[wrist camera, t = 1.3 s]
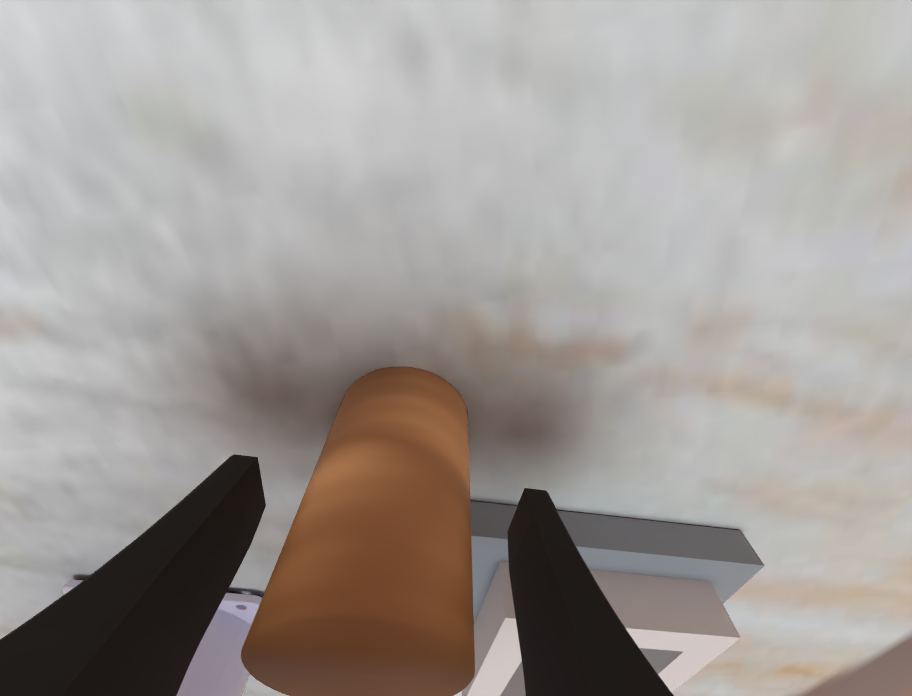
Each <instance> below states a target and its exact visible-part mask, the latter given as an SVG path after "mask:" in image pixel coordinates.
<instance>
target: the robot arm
mask: <svg viewBox="0 0 912 696" xmlns="http://www.w3.org/2000/svg"><path fill="white" fill-rule="evenodd" d="M265 506H266V504H265V498H264V492H263V487H262V481H261V475H260V469H259V463H258V457H251V456H242V455H232V456H231V457H229V458H228V459H227V460H226V461H225V462H224V463H223V464H222V465H221V466H219V467H218V468H217V469H216V470H215V471H214V472H213V473H212V474H211V475H210V476H209V477H207V478H206V479H205V480H204V481H203V482H202V483H201V484H200V485H199V486H197V487H196V488H195V489H194V490H193V491H192V492H191V493H190V494H188V495H187V496H186V497H185V498H184V499H183V500H182V501H181V502H179V503H178V504H177V505H176V506H175V507H174V508H172V509H171V510H170V511H169V512H168V513H167V514H165V515H164V516H163V517H162V518H161V519H160V520H158V521H157V522H156V523H155V524H154V525H153V526H151V527H150V528H149V529H148V530H147V531H145V532H144V533H143V534H142V535H141V536H139V537H138V538H137V539H136V540H134V541H133V542H132V543H131V544H129V545H128V546H127V547H126V548H124V549H123V550H122V551H121V552H119V553H118V554H117V555H116V556H114V557H113V558H112V559H111V560H109V561H108V562H107V563H106V564H104V565H103V566H102V567H101V568H99V569H98V570H97V571H95V572H94V573H93V574H91V575H90V576H89V577H87V578H86V579H85V580H71V581H68V582H67V584H66V585H65V586H64V587H63V588H62V592H63V593H64V595H63V596H62V597H61V598H59V599H58V600H56V601H55V602H54V603H52V604H51V605H49V606H48V607H47V608H45V609H44V610H42V611H41V612H40V613H38V614H37V615H35V616H34V617H33V618H31V619H30V620H28V621H27V622H25V623H24V624H22V625H21V626H19V627H18V628H17V629H15V630H14V631H12V632H11V633H9V634H8V635H6V636H5V637H3V638H2V639H0V696H242V693H243V691H244V688H245V685H246V683H247V680H248V677H249V675H250V673H249V672H248V671H247V670H246V668H245V667H244V665H243V663H242V660H241V651H242V647H243V645H244V642H245V640H246V637H247V635H248V632H249V630H250V627H251V625H252V622H253V620H254V617H255V615H256V613H257V610H258V608H259V605H260V603H261V600H262V598H261V597H259V596H256V595H246V594H235V593H226V592H227V590H228V588H229V586H230V584H231V582H232V580H233V578H234V576H235V575H236V573H237V571H238V569H239V567H240V565H241V563H242V561H243V559H244V557H245V555H246V553H247V551H248V549H249V547H250V545H251V542H252V540H253V537H254V535H255V532H256V530H257V527H258V525H259V522H260V520H261V517H262V514H263V512H264V509H265ZM507 533H508V560H509V575H510V582H511V589H512V596H513V603H514V610H515V617H516V624H517V631H518V638H519V645H520V651H521V658H522V665H523V674H524V683H525V693H526V696H674V695H673V694H672V693H671V691H670V690H669V689H668V687H667V686H666V684H665V683H664V682H663V680H662V679H661V678H660V676H659V675H658V674H657V672H656V671H655V670H654V668H653V667H652V666H651V664H650V663H649V661H648V660H647V658H646V657H645V656H644V654H643V653H642V651H641V650H640V649H639V647H638V646H637V644H636V643H635V641H634V640H633V638H632V637H631V636H630V634H629V633H628V631H627V630H626V628H625V627H624V625H623V624H622V622H621V620H620V619H619V617H618V616H617V614H616V613H615V611H614V610H613V608H612V606H611V605H610V603H609V602H608V600H607V599H606V597H605V595H604V594H603V592H602V590H601V589H600V587H599V585H598V584H597V582H596V580H595V579H594V577H593V575H592V574H591V572H590V570H589V568H588V567H587V565H586V563H585V561H584V560H583V558H582V556H581V555H580V553H579V551H578V549H577V547H576V546H575V544H574V542H573V540H572V538H571V536H570V534H569V533H568V531H567V529H566V527H565V525H564V523H563V521H562V519H561V517H560V515H559V514H558V512H557V510H556V508H555V506H554V504H553V502H552V500H551V498H550V496H549V494H548V492H547V491H545V490H536V489H528V488H525V489H524V491H523V494H522V496H521V499H520V501H519V504H518V506H517V509H516V511H515V514H514V516H513V519H512V521H511V524H510V526H509V529H508V531H507Z"/></svg>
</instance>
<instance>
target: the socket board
mask: <svg viewBox="0 0 912 696" xmlns="http://www.w3.org/2000/svg"><path fill="white" fill-rule="evenodd" d="M470 509H471V544H472V579H473V614H474V649H475V674H474V678H473V679H472V681H471V682H470V684H469V685H468V686H467V687H466V688H465V689H463V690H462V696H526V693H525V683H524V674H523V665H522V658H521V651H520V645H519V638H518V631H517V624H516V617H515V610H514V603H513V596H512V589H511V582H510V575H509V560H508V533H507V531H508V529H509V526H510V524H511V521H512V519H513V516H514V514H515V511H516V509H517V506H512V505H503V504H494V503H485V502H476V501H470ZM557 512H558V514H559V515H560V517H561V519H562V521H563V523H564V525H565V527H566V529H567V531H568V533H569V534H570V536H571V538H572V540H573V542H574V544H575V546H576V547H577V549H578V551H579V553H580V555H581V556H582V558H583V560H584V561H585V563H586V565H587V567H588V568H589V570H590V572H591V574H592V575H593V577H594V579H595V580H596V582H597V584H598V585H599V587H600V589H601V590H602V592H603V594H604V595H605V597H606V599H607V600H608V602H609V603H610V605H611V606H612V608H613V610H614V611H615V613H616V614H617V616H618V617H619V619H620V620H621V622H622V624H623V625H624V627H625V628H626V630H627V631H628V633H629V634H630V636H631V637H632V638H633V640H634V641H635V643H636V644H637V646H638V647H639V649H640V650H641V651H642V653H643V654H644V656H645V657H646V658H647V660H648V661H649V663H650V664H651V666H652V667H653V668H654V670H655V671H656V672H657V674H658V675H659V676H660V678H661V679H662V680H663V682H664V683H665V684H666V686H667V687H668V689H669V690H670V691H671V692H673V691H674V690H675V689H676V688H678V687H679V686H680V685H682V684H683V683H684V682H685V681H687V680H688V679H689V678H690V677H692V676H693V675H694V674H696V673H697V672H698V671H699V670H701V669H702V668H703V667H704V666H706V665H707V664H708V663H709V662H711V661H712V660H713V659H715V658H716V657H717V656H718V655H720V654H721V653H722V652H723V651H725V650H726V649H727V648H729V647H730V646H731V645H732V644H734V643H735V642H736V641H737V640H739V639H740V636H739V634H738V632H737V630H736V628H735V626H734V624H733V623H732V621H731V619H730V617H729V615H728V613H727V611H726V610H725V608H724V606H723V603H724V602H725V601H726V600H728V599H729V598H730V597H731V596H732V595H733V594H734V593H735V592H736V591H737V590H739V589H740V588H741V587H742V586H743V585H744V584H745V583H746V582H747V581H748V580H749V579H751V578H752V577H753V576H754V575H755V574H756V573H757V572H758V571H759V570H760V569H762V568H763V567H764V564H763V563H762V561H761V560H760V558H759V557H758V555H757V554H756V552H755V551H754V549H753V548H752V546H751V545H750V543H749V542H748V540H747V539H746V537H745V536H744V534H743V533H742V531H740V530H731V529H722V528H713V527H704V526H695V525H686V524H676V523H667V522H658V521H649V520H640V519H631V518H622V517H613V516H604V515H594V514H585V513H576V512H567V511H558V510H557Z"/></svg>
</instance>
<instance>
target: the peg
mask: <svg viewBox="0 0 912 696" xmlns="http://www.w3.org/2000/svg"><path fill="white" fill-rule="evenodd" d="M241 660H242V663H243V665H244V667H245V668H246V670H247V671H248V672H249V673H250V674H251V675H252V676H253V677H254V678H256V679H257V680H258V681H260V682H261V683H263V684H264V685H266V686H268V687H270V688H272V689H274V690H276V691H279V692H281V693H283V694H286V695H289V696H453V695H455V694H457V693H459V692H460V691H462V690H463V689H465V688H466V687H467V686H468V685H469V684H470V682H471V681H472V679H473V678H474V674H475V649H474V614H473V579H472V544H471V509H470V474H469V439H468V413H467V408H466V405H465V403H464V400H463V399H462V397H461V395H460V394H459V393H458V391H457V390H456V389H455V388H454V387H453V386H452V385H451V384H449V383H448V382H447V381H445V380H444V379H442V378H441V377H439V376H437V375H435V374H432V373H430V372H428V371H424V370H421V369H416V368H411V367H389V368H383V369H379V370H375V371H373V372H370V373H368V374H366V375H364V376H362V377H361V378H359V379H358V380H357V381H355V382H354V383H353V384H352V385H351V386H350V388H349V389H348V390H347V392H346V394H345V396H344V398H343V400H342V403H341V405H340V408H339V410H338V413H337V415H336V418H335V420H334V422H333V425H332V427H331V430H330V432H329V435H328V437H327V440H326V442H325V445H324V447H323V450H322V452H321V455H320V457H319V460H318V462H317V464H316V467H315V469H314V472H313V474H312V477H311V479H310V482H309V484H308V487H307V489H306V492H305V494H304V497H303V499H302V501H301V504H300V506H299V509H298V511H297V514H296V516H295V519H294V521H293V524H292V526H291V529H290V531H289V534H288V536H287V539H286V541H285V543H284V546H283V548H282V551H281V553H280V556H279V558H278V561H277V563H276V566H275V568H274V571H273V573H272V576H271V578H270V580H269V583H268V585H267V588H266V590H265V593H264V595H263V598H262V600H261V603H260V605H259V608H258V610H257V613H256V615H255V617H254V620H253V622H252V625H251V627H250V630H249V632H248V635H247V637H246V640H245V642H244V645H243V647H242V651H241Z"/></svg>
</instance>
